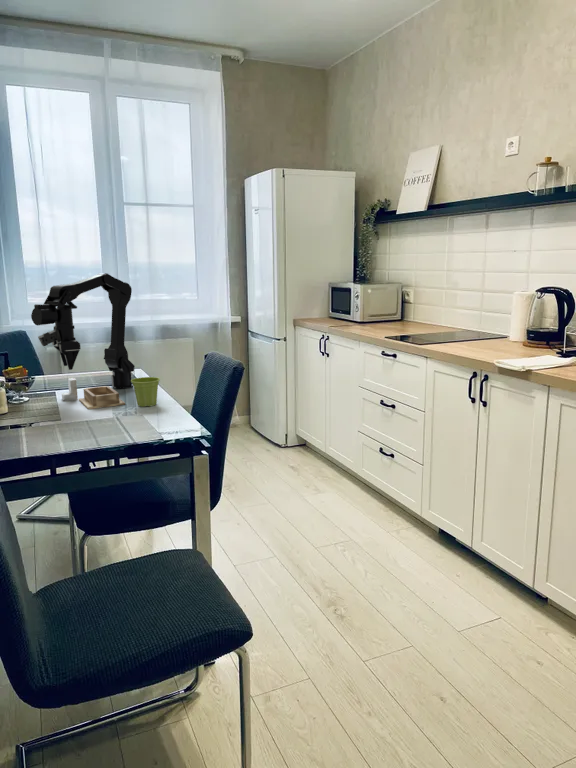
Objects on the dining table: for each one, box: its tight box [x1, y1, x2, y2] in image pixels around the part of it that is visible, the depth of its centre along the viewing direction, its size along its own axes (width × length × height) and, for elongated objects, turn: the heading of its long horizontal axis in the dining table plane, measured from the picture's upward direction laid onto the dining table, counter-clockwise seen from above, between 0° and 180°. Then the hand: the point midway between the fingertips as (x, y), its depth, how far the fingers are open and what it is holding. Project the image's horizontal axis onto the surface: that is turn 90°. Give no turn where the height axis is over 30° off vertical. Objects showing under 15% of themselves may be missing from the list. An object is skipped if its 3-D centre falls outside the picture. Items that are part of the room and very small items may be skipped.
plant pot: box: [131, 376, 161, 408], centre depth 195 cm, size 9×9×9 cm
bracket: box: [61, 377, 79, 402], centre depth 205 cm, size 4×4×7 cm
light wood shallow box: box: [78, 385, 126, 410], centre depth 199 cm, size 12×15×4 cm
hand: (68, 367), depth 203 cm, fingers open, 9 cm apart
